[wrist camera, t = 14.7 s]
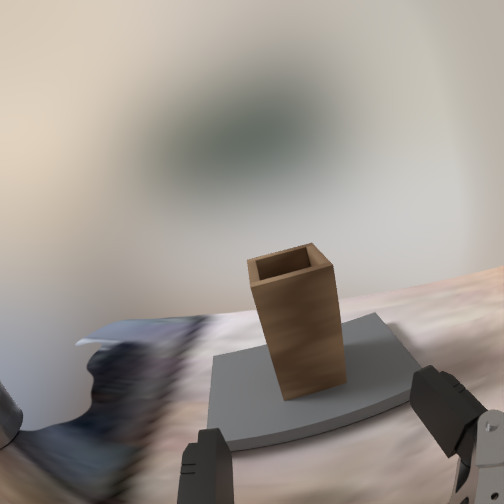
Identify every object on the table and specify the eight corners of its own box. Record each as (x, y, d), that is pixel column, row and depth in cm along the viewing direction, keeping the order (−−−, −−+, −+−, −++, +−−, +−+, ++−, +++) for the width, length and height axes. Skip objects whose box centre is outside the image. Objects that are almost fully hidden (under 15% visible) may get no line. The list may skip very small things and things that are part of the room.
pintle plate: (212, 453, 17) (170, 389, 15) (218, 367, 28) (193, 306, 25) (427, 391, 17) (439, 313, 14) (375, 324, 27) (370, 258, 25)
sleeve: (283, 401, 19) (250, 287, 16) (275, 361, 24) (246, 259, 21) (346, 382, 19) (333, 264, 16) (329, 347, 24) (311, 242, 21)
